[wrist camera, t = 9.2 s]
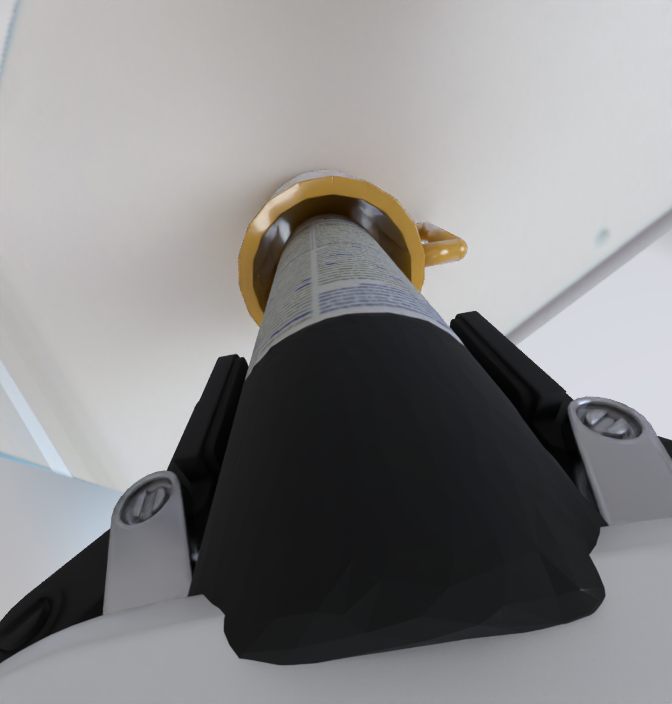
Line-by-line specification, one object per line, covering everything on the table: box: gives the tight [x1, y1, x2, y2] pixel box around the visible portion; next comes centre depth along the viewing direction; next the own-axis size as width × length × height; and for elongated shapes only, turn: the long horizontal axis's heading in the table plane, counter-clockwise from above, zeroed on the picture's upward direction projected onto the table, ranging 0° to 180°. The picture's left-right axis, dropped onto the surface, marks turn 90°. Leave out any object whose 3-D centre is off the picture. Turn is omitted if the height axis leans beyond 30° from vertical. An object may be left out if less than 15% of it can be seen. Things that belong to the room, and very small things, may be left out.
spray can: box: [187, 214, 609, 665], centre depth 12 cm, size 7×7×20 cm
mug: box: [238, 169, 467, 327], centre depth 21 cm, size 14×11×10 cm
